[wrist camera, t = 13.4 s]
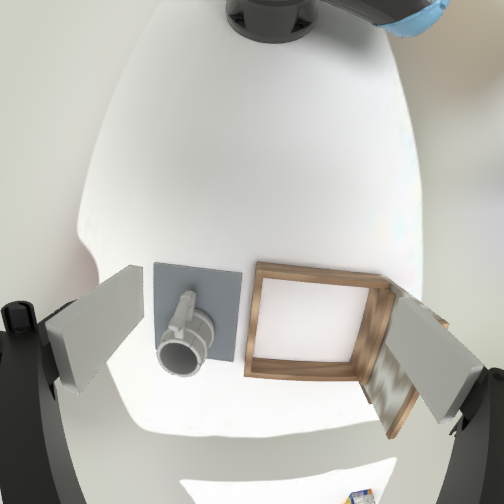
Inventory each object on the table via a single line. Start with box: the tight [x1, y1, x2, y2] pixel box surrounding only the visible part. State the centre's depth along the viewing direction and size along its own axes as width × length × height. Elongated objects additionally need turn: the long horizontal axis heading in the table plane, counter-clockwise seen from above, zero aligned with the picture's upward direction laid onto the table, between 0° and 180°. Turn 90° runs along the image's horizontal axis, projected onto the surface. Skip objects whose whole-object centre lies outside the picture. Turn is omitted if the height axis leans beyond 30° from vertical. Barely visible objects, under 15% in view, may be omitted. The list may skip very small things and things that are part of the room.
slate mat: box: [154, 262, 242, 362], centre depth 44 cm, size 16×14×1 cm
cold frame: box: [244, 262, 449, 439], centre depth 34 cm, size 19×21×19 cm
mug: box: [157, 291, 215, 377], centre depth 38 cm, size 8×12×12 cm, turn 174°
